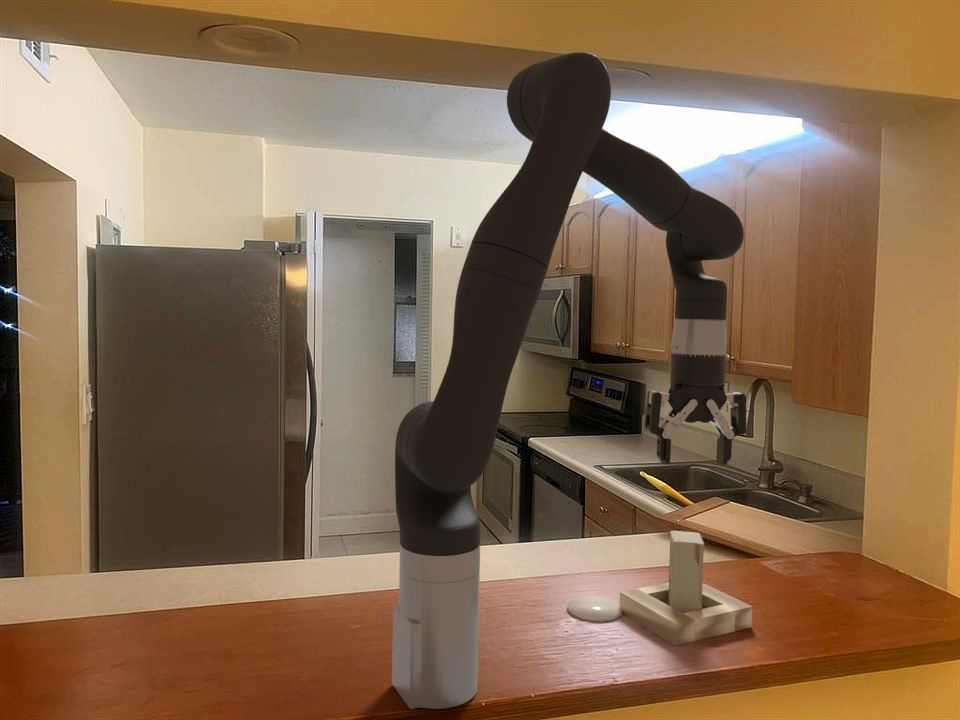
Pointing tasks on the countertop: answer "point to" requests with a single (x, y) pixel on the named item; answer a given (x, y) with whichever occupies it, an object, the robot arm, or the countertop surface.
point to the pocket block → (685, 614)
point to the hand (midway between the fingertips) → (693, 463)
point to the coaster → (594, 608)
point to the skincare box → (685, 571)
